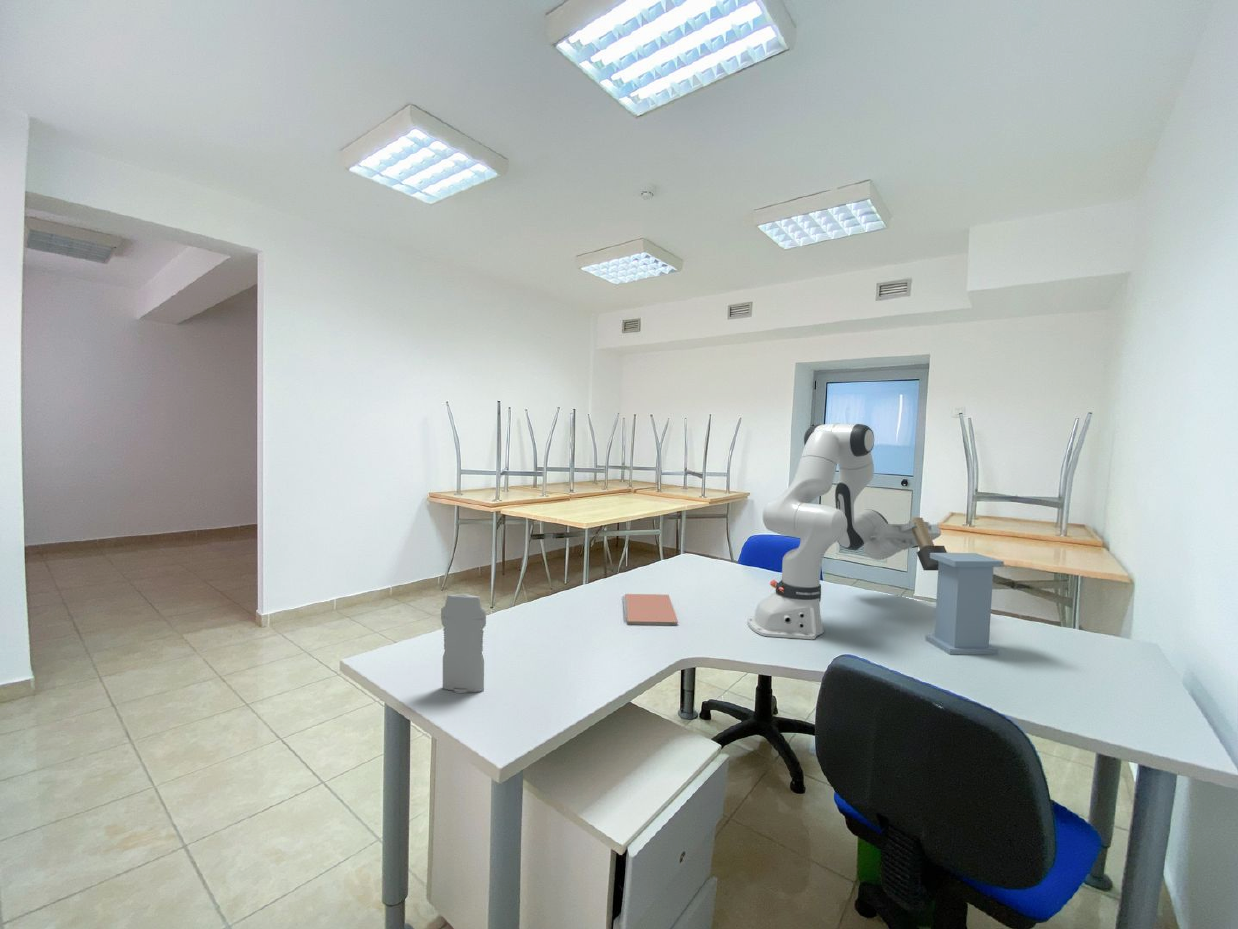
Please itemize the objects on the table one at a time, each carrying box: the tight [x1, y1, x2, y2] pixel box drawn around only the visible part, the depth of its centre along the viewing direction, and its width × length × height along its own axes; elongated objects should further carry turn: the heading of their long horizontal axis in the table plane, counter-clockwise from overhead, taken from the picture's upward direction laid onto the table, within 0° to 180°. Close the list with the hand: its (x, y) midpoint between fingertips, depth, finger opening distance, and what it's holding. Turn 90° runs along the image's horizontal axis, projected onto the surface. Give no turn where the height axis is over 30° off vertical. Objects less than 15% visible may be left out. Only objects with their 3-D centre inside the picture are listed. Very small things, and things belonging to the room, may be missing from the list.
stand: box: [924, 552, 1005, 656], centre depth 143 cm, size 14×10×26 cm
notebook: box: [621, 593, 679, 626], centre depth 169 cm, size 27×17×2 cm, turn 1°
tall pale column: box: [440, 593, 487, 694], centre depth 114 cm, size 11×4×22 cm, turn 83°
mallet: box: [908, 517, 948, 571], centre depth 158 cm, size 6×17×5 cm
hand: (921, 524), depth 161 cm, fingers closed on mallet, 3 cm apart
